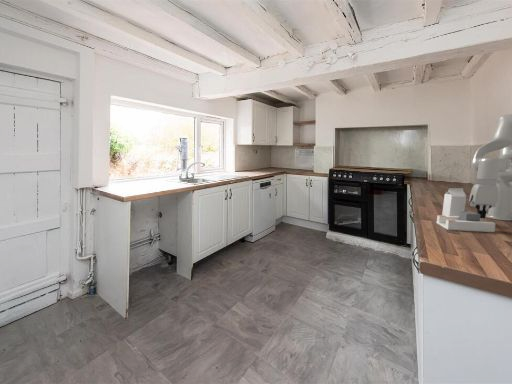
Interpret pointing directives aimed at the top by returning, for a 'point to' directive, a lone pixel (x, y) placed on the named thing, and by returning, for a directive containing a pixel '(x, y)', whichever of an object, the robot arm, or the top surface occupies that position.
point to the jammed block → (469, 216)
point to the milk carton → (454, 202)
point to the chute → (464, 224)
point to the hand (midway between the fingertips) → (480, 217)
